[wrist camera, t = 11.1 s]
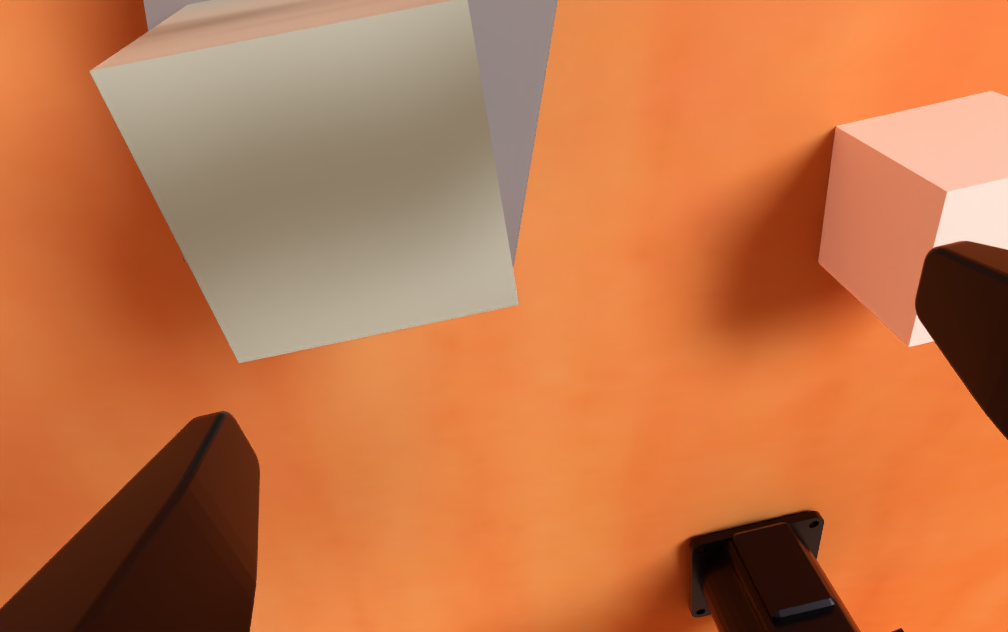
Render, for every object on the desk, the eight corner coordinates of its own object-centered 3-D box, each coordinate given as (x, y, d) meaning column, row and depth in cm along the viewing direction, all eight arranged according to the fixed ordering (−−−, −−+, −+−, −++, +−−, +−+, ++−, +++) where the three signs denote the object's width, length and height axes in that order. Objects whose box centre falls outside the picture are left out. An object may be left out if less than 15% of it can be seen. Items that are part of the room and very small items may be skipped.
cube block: (485, 189, 16) (519, 304, 11) (279, 231, 15) (238, 363, 11) (442, -45, 13) (466, -3, 9) (187, 4, 12) (89, 70, 8)
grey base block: (492, 210, 20) (511, 275, 17) (219, 192, 19) (183, 261, 15) (532, -89, 16) (570, -78, 13) (181, -145, 14) (120, -148, 11)
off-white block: (952, 230, 23) (1073, 308, 19) (816, 261, 23) (908, 347, 19) (990, 90, 20) (1141, 147, 16) (834, 125, 20) (947, 191, 16)
